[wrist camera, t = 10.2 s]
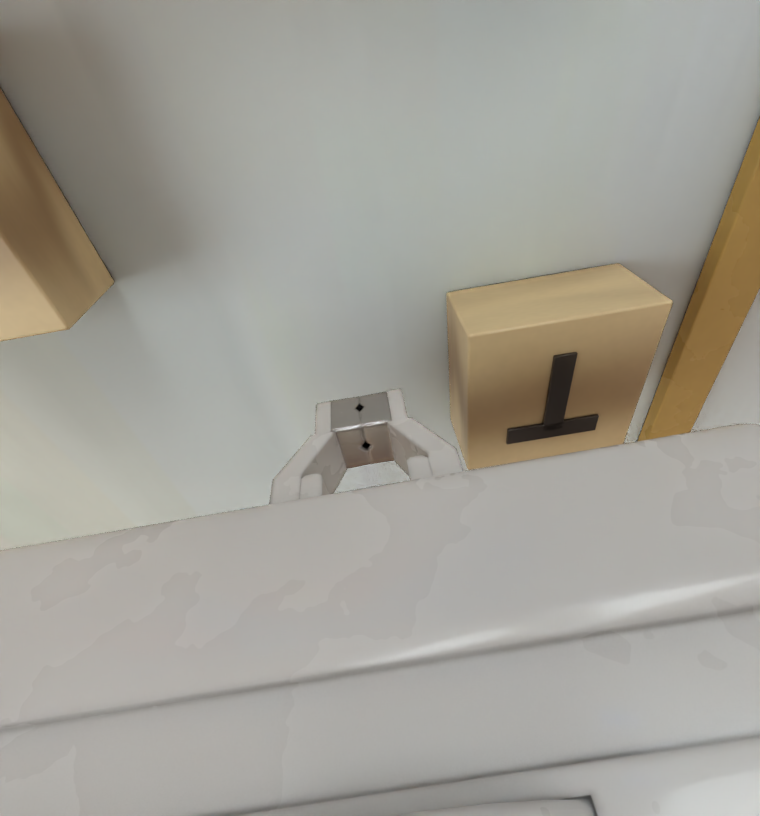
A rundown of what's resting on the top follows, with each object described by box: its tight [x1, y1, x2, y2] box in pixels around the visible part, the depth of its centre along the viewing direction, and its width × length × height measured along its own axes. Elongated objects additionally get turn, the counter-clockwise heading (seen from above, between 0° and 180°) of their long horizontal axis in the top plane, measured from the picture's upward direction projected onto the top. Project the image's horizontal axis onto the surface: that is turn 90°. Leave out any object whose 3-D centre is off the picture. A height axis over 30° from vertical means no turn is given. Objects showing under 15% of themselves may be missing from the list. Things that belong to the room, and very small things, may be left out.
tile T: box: [446, 263, 673, 470], centre depth 15 cm, size 6×6×3 cm
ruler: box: [638, 117, 760, 441], centre depth 14 cm, size 22×2×1 cm, turn 8°
